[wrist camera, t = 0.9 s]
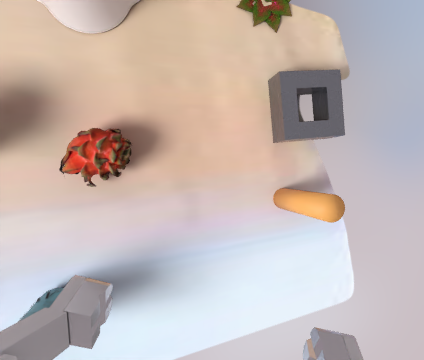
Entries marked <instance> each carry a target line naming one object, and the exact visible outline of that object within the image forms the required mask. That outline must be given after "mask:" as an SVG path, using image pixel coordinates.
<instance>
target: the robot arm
mask: <svg viewBox="0 0 424 360" xmlns="http://www.w3.org/2000/svg"><path fill="white" fill-rule="evenodd" d="M37 1H39V2H41V3H42V4H44V5H45V6H46V8H47V9H48V10H49V11H50V12H51V14H52V15H53V16H54V17H55V18H56V19H57V20H58V21H59V22H61V23H62V24H64V25H65V26H67V27H69V28H71V29H73V30H76V31H79V32H83V33H101V32H105V31H108V30H110V29H112V28H114V27H116V26H117V25H118V24H120V23H121V22H122V21H123V20H124V18H125V17H126V15H127V14H128V12H129V10H130V8H131V7H132V6H133V5H134V4H136V3H137V2H138V1H140V0H37ZM112 290H113V285H112V284H111V283H107V282H103V281H98V280H94V279H90V278H86V277H82V276H77V275H75V276H74V277H72V278H71V279H70V281H69V282H68V283H67V285H66V286H65V287H64V289H63V290H62V291H61V293H60V294H59V295H58V297H57V298H56V299H55V301H54V302H53V303H52V305H51V306H50V308H43V309H42V310H40V311H38V312H36V313H34V314H32V315H30V316H29V317H27V318H25V319H23V320H21V321H19V322H17V323H16V324H14V325H12V326H10V327H8V328H6V329H4V330H3V331H1V332H0V360H53V359H54V358H55V357H56V356H58V355H59V354H60V353H61V352H63V351H64V350H65V349H67V348H68V347H69V345H74V346H79V347H84V348H89V349H92V347H93V346H94V344H95V342H96V340H97V338H98V336H99V334H100V326H101V325H102V324H104V323H105V322H106V320H107V318H108V316H109V313H110V310H111V306H112V297H111V295H110V294H111V292H112ZM310 335H311V339H308V340H307V341H306V343H305V345H304V350H303V360H363V357H362V355H361V352H360V349H359V346H358V344H357V341H356V338H355V337H354V336H352V335H347V334H343V333H339V332H335V331H329V330H324V329H319V328H313V329H312V331H311V334H310Z"/></svg>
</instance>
